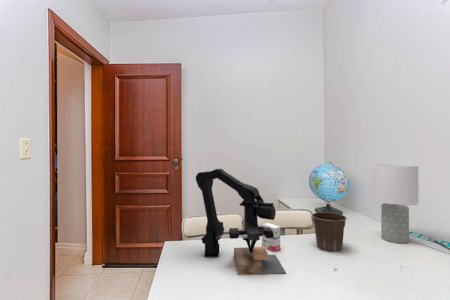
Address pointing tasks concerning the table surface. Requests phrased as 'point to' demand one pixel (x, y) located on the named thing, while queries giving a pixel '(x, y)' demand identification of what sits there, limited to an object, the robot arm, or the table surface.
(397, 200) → the lamp
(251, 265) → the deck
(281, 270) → the mat
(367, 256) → the table surface
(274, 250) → the ink box
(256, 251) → the light orange block
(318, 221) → the plant pot
